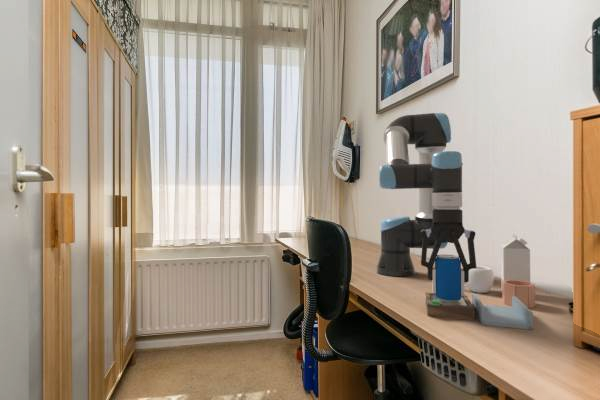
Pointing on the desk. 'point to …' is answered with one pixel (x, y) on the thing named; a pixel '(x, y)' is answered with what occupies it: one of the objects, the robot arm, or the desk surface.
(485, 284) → the mug
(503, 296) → the cup
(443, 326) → the desk surface
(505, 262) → the milk carton
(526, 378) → the desk surface
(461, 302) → the grey flat square plate
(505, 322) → the trough
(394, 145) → the robot arm
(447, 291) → the beverage can
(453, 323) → the desk surface
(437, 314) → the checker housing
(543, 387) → the desk surface
